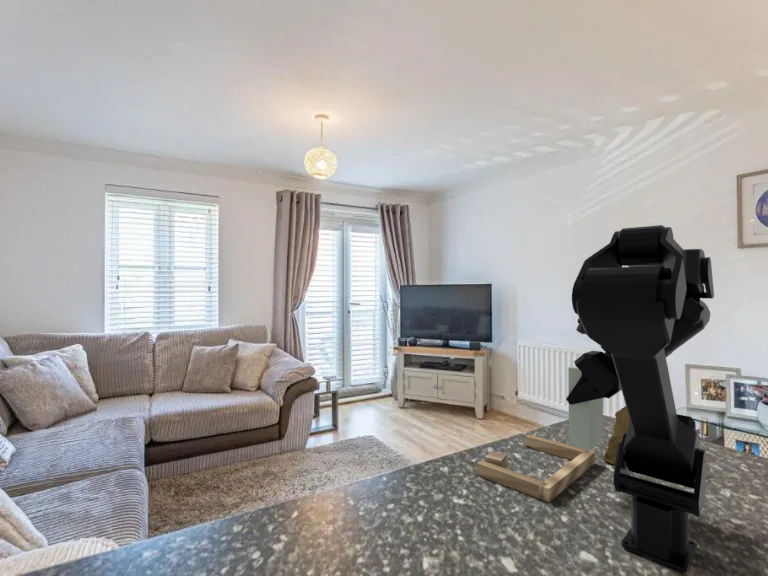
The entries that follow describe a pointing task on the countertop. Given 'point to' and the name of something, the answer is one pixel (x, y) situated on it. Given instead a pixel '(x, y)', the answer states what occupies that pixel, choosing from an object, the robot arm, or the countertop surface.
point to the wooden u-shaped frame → (553, 484)
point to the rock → (617, 435)
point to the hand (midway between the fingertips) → (576, 397)
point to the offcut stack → (497, 459)
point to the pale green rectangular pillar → (584, 417)
